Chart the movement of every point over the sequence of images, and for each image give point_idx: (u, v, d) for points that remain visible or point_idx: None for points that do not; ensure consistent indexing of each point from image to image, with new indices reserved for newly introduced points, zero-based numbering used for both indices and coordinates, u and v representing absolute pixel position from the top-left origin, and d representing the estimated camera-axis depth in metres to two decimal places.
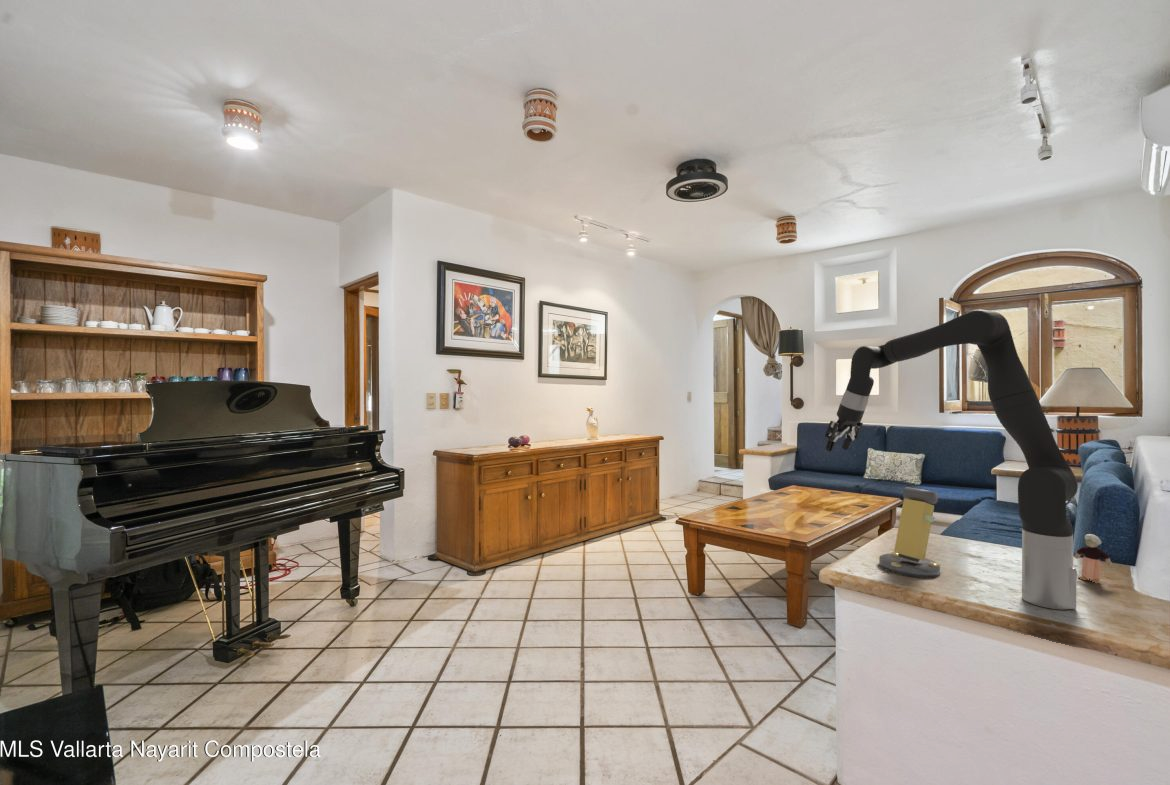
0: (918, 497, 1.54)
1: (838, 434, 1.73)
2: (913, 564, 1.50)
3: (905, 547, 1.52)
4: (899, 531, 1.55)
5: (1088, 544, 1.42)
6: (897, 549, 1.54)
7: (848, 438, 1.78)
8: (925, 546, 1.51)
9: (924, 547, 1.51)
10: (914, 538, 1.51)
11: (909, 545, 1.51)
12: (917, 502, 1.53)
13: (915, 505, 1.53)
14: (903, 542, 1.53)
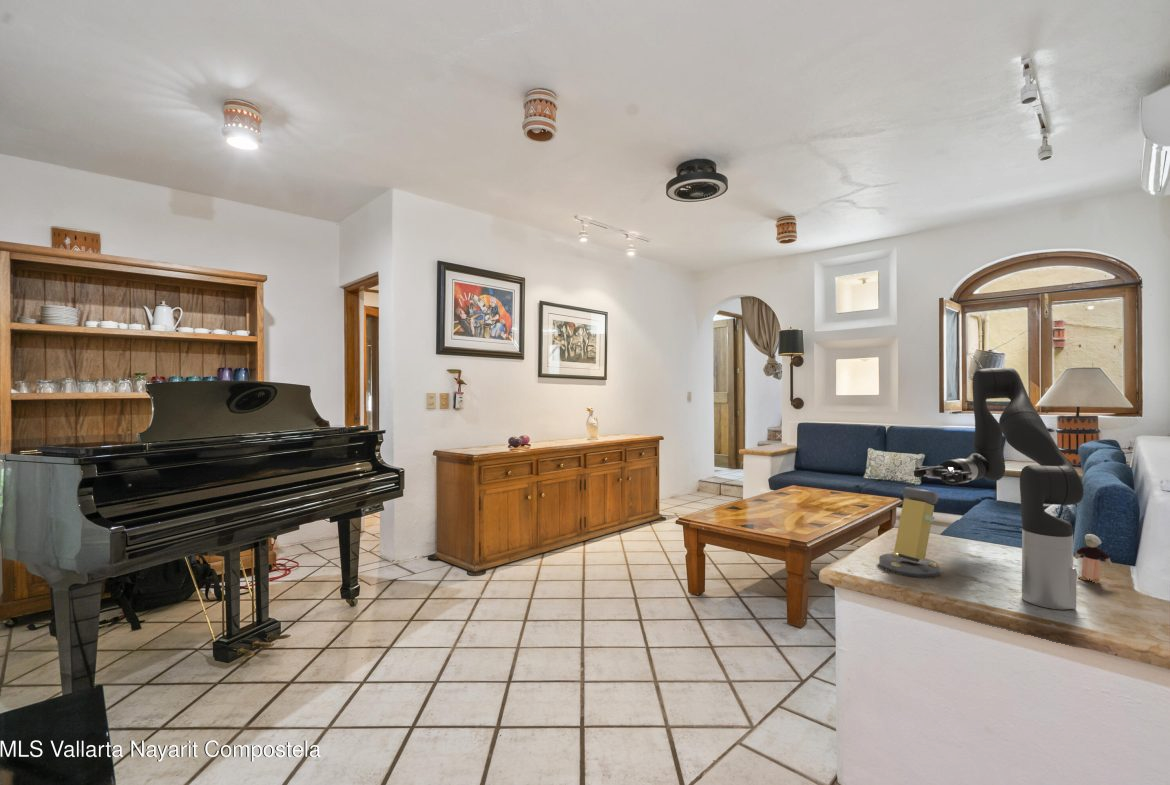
0: (918, 497, 1.54)
1: None
2: (913, 564, 1.50)
3: (905, 547, 1.52)
4: (899, 531, 1.55)
5: (1088, 544, 1.42)
6: (897, 549, 1.54)
7: None
8: (925, 546, 1.51)
9: (924, 547, 1.51)
10: (914, 538, 1.51)
11: (909, 545, 1.51)
12: (917, 502, 1.53)
13: (915, 505, 1.53)
14: (903, 542, 1.53)
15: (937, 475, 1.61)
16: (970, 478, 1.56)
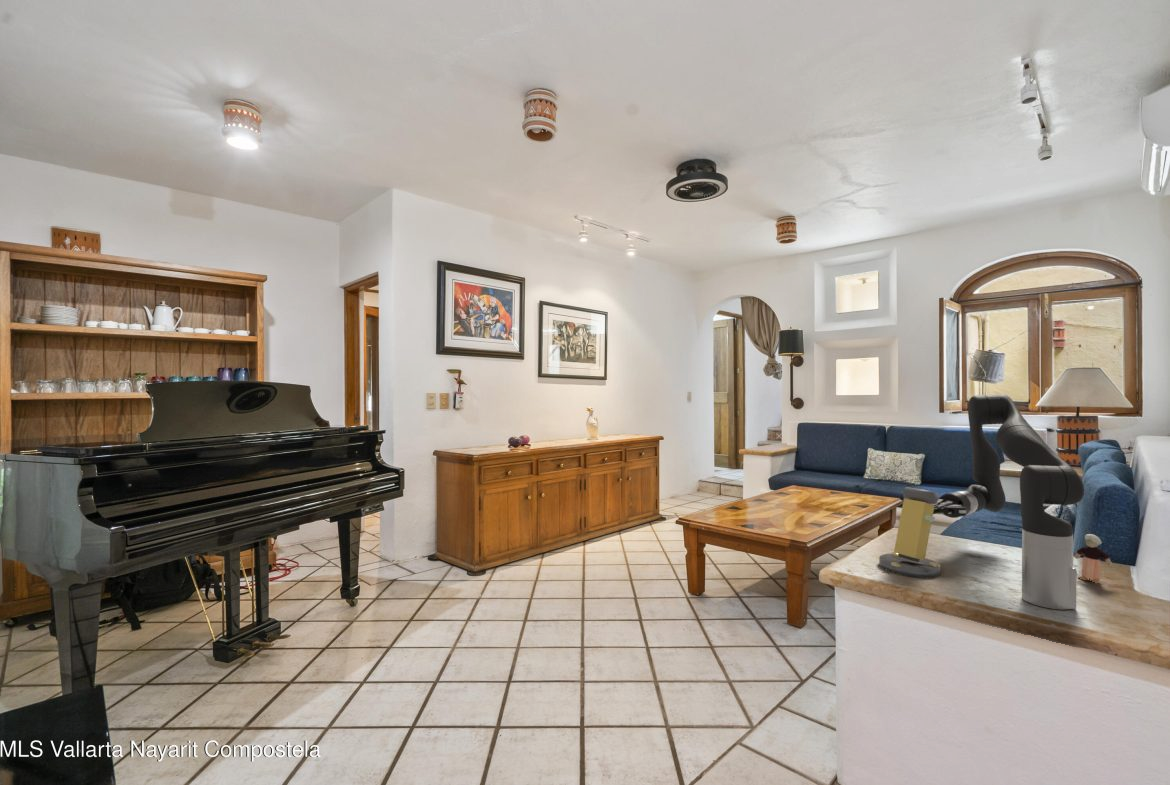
0: (918, 497, 1.54)
1: None
2: (913, 564, 1.50)
3: (905, 547, 1.52)
4: (899, 531, 1.55)
5: (1088, 544, 1.42)
6: (897, 549, 1.54)
7: None
8: (925, 546, 1.51)
9: (924, 547, 1.51)
10: (914, 538, 1.51)
11: (909, 545, 1.51)
12: (917, 502, 1.53)
13: (915, 505, 1.53)
14: (903, 542, 1.53)
15: None
16: (962, 513, 1.56)
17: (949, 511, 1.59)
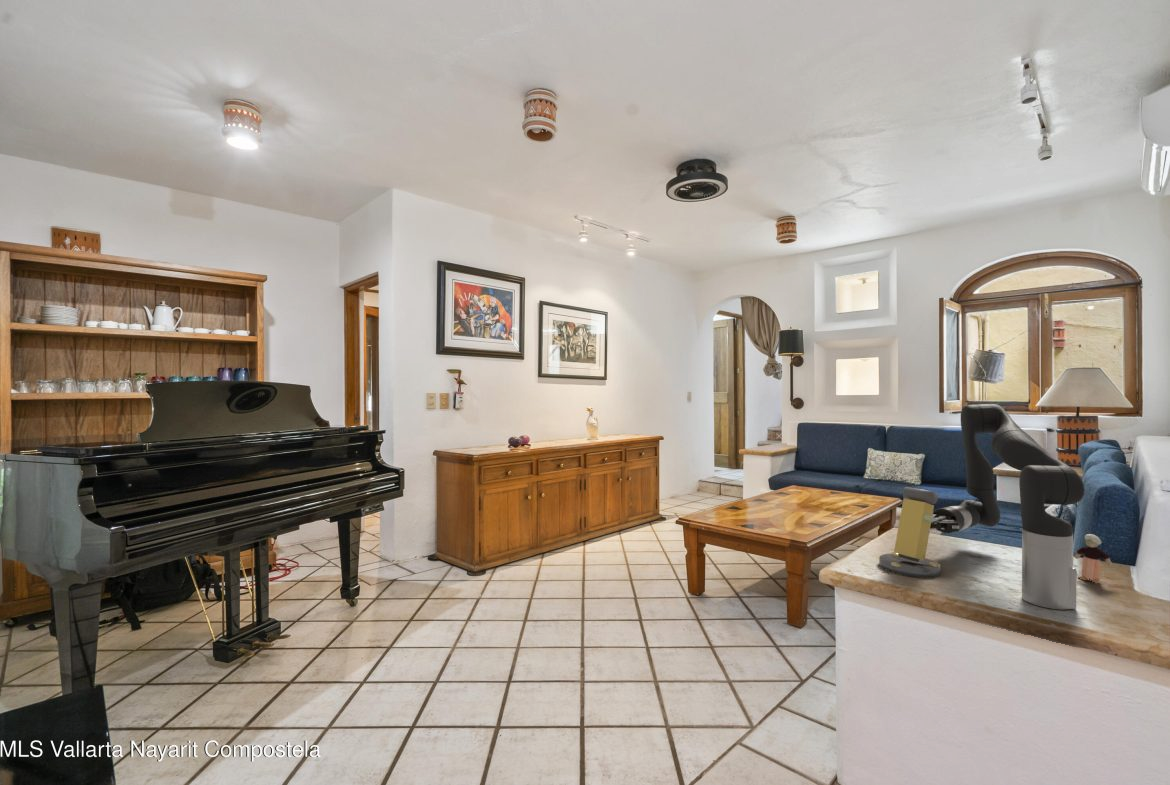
0: (918, 497, 1.54)
1: None
2: (913, 564, 1.50)
3: (905, 547, 1.52)
4: (899, 531, 1.55)
5: (1088, 544, 1.42)
6: (897, 549, 1.54)
7: None
8: (925, 546, 1.51)
9: (924, 547, 1.51)
10: (914, 538, 1.51)
11: (909, 545, 1.51)
12: (917, 502, 1.53)
13: (915, 505, 1.53)
14: (903, 542, 1.53)
15: None
16: (955, 529, 1.54)
17: (942, 526, 1.57)
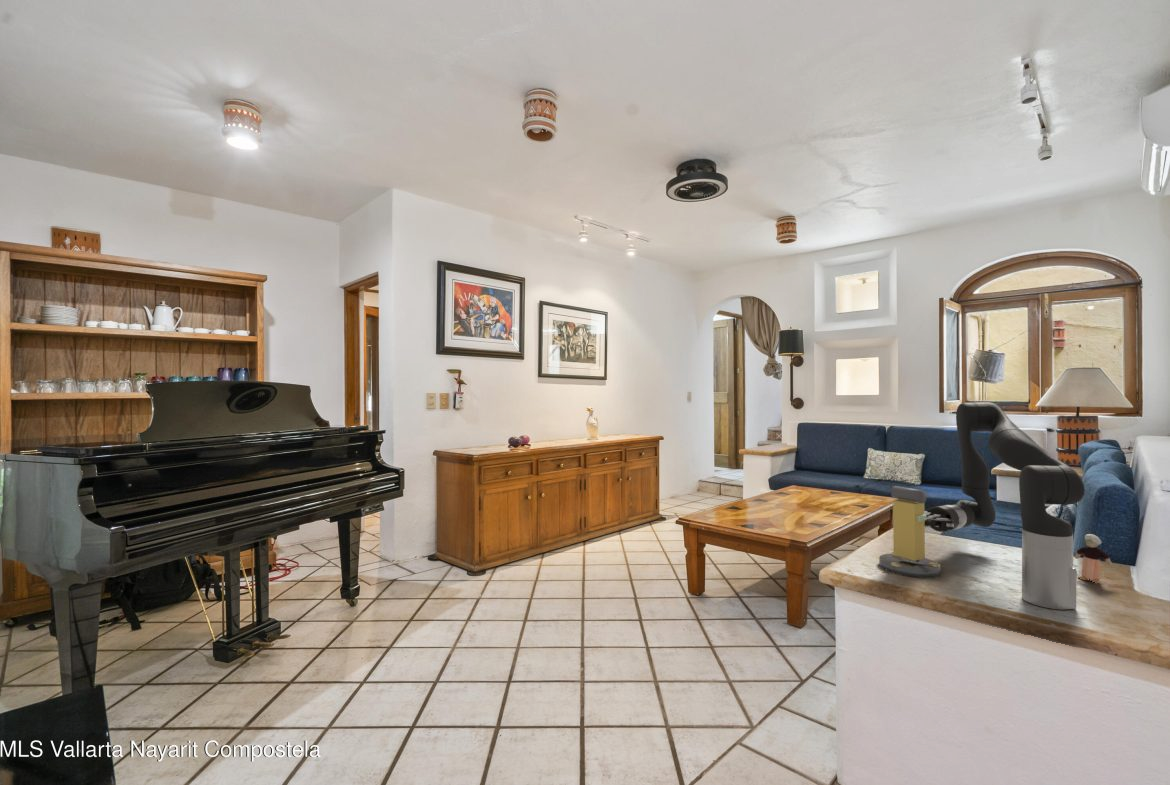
0: (907, 498, 1.51)
1: None
2: (913, 564, 1.50)
3: (903, 550, 1.52)
4: (895, 534, 1.54)
5: (1088, 544, 1.42)
6: (896, 552, 1.53)
7: None
8: (923, 544, 1.51)
9: (922, 546, 1.51)
10: (911, 541, 1.50)
11: (907, 548, 1.51)
12: (907, 504, 1.50)
13: (905, 507, 1.51)
14: (900, 545, 1.52)
15: None
16: (949, 527, 1.53)
17: (936, 524, 1.56)
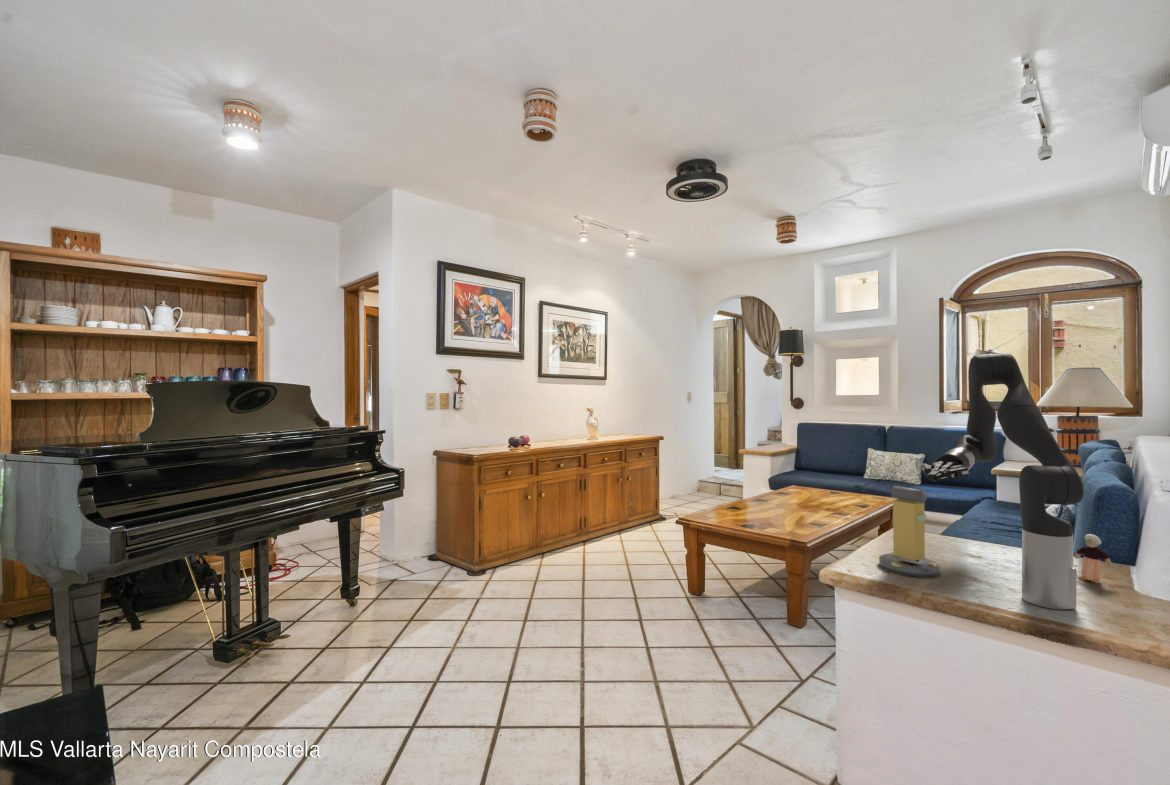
0: (907, 498, 1.51)
1: None
2: (913, 564, 1.50)
3: (903, 550, 1.52)
4: (895, 534, 1.54)
5: (1088, 544, 1.42)
6: (896, 552, 1.53)
7: None
8: (923, 544, 1.51)
9: (922, 546, 1.51)
10: (911, 541, 1.50)
11: (907, 548, 1.51)
12: (907, 504, 1.50)
13: (905, 507, 1.51)
14: (900, 545, 1.52)
15: None
16: (965, 474, 1.55)
17: (951, 473, 1.58)
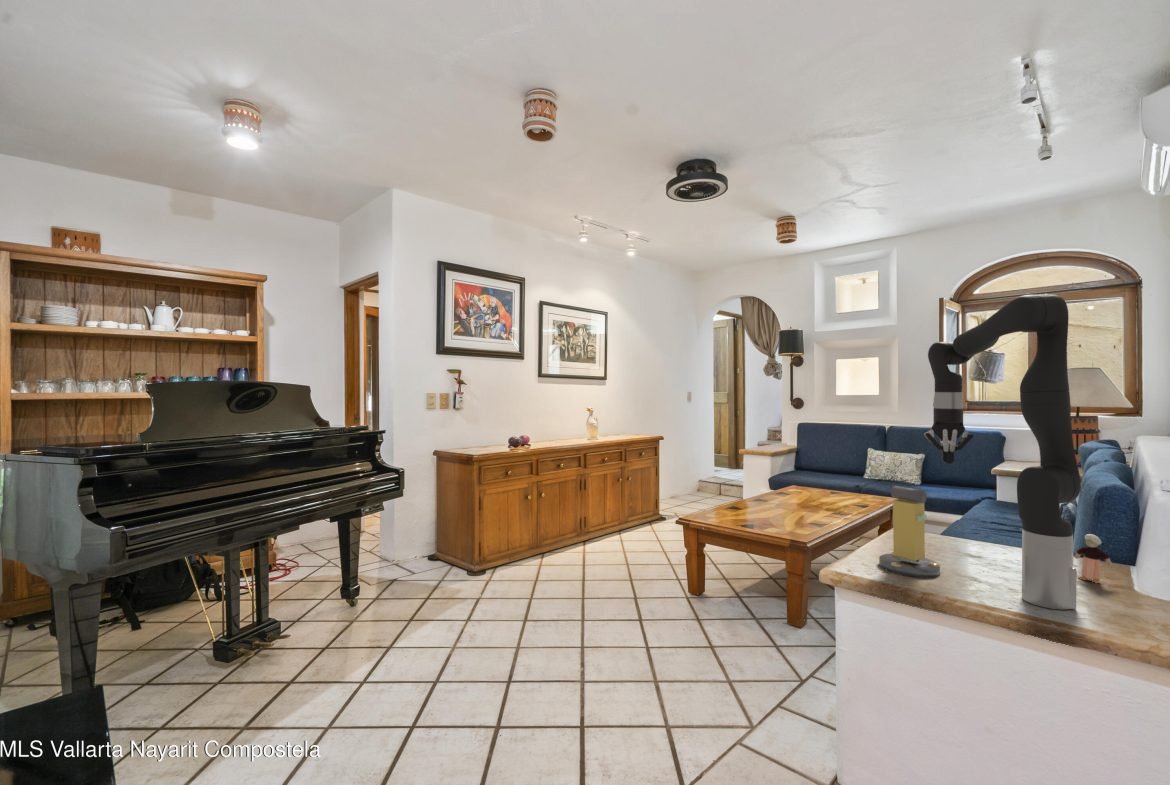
0: (907, 498, 1.51)
1: (942, 442, 1.61)
2: (913, 564, 1.50)
3: (903, 550, 1.52)
4: (895, 534, 1.54)
5: (1088, 544, 1.42)
6: (896, 552, 1.53)
7: (948, 448, 1.62)
8: (923, 544, 1.51)
9: (922, 546, 1.51)
10: (911, 541, 1.50)
11: (907, 548, 1.51)
12: (907, 504, 1.50)
13: (905, 507, 1.51)
14: (900, 545, 1.52)
15: None
16: None
17: None
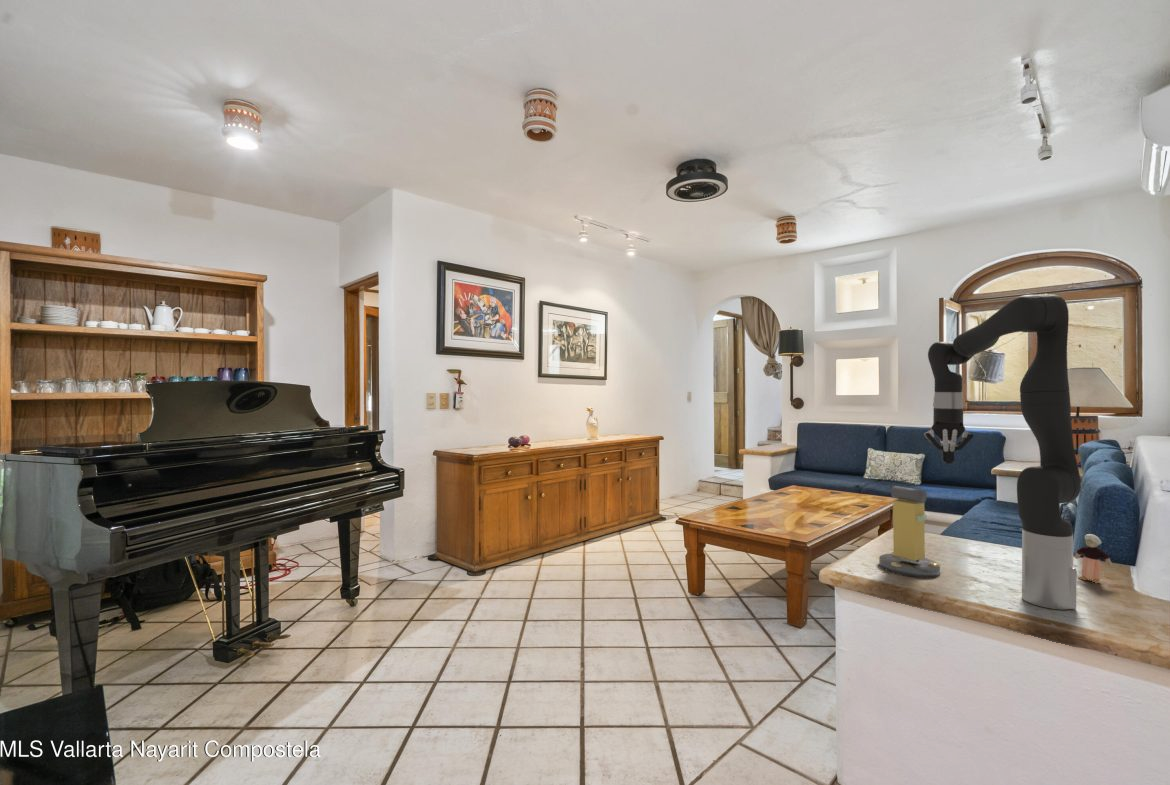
0: (907, 498, 1.51)
1: (942, 442, 1.61)
2: (913, 564, 1.50)
3: (903, 550, 1.52)
4: (895, 534, 1.54)
5: (1088, 544, 1.42)
6: (896, 552, 1.53)
7: (948, 448, 1.62)
8: (923, 544, 1.51)
9: (922, 546, 1.51)
10: (911, 541, 1.50)
11: (907, 548, 1.51)
12: (907, 504, 1.50)
13: (905, 507, 1.51)
14: (900, 545, 1.52)
15: None
16: None
17: None
